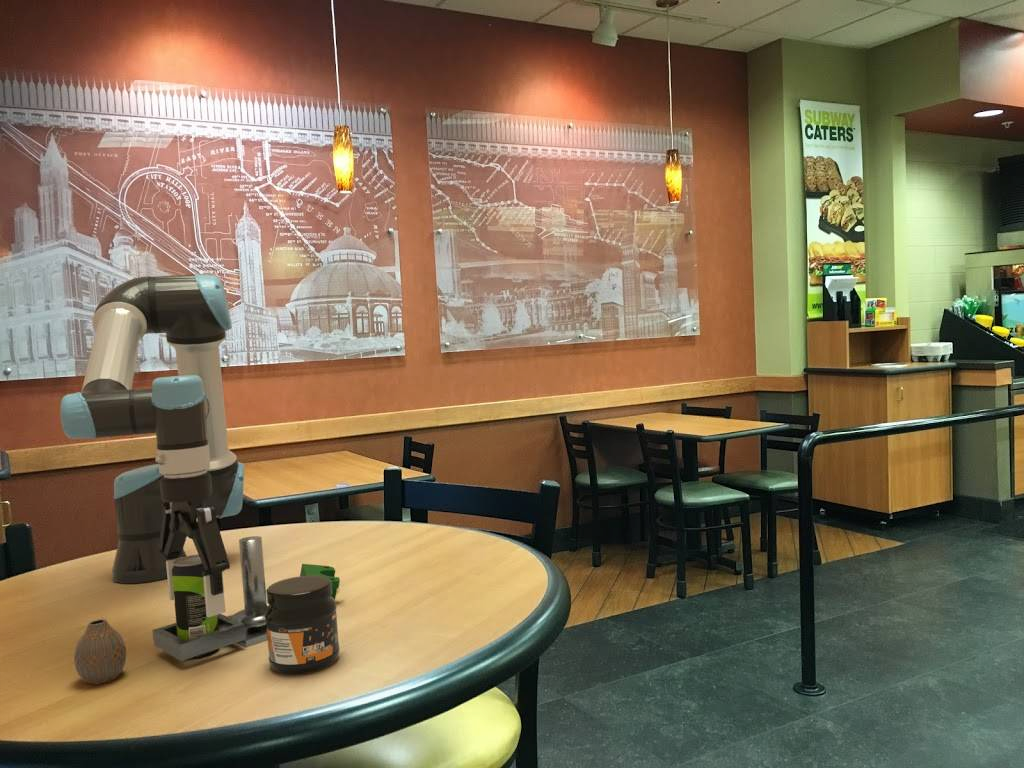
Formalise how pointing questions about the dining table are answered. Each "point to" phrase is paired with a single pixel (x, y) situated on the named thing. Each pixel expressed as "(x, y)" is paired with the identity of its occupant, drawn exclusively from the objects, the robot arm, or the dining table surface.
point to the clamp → (322, 574)
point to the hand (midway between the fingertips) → (196, 606)
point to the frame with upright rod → (233, 628)
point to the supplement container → (301, 625)
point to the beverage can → (191, 600)
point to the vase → (99, 653)
